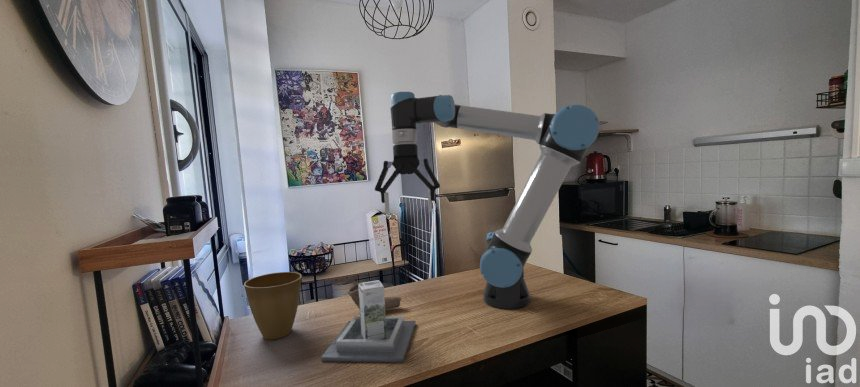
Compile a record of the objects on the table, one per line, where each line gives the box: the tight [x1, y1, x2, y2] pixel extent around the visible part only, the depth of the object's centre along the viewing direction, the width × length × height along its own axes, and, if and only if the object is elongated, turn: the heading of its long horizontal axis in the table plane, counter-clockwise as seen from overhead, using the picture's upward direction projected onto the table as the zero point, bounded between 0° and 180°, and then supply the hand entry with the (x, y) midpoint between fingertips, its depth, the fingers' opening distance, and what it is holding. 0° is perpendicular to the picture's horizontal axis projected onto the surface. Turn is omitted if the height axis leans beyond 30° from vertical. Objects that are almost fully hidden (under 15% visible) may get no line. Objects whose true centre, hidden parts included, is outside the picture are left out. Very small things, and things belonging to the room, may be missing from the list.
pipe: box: [347, 281, 402, 311], centre depth 112 cm, size 6×17×10 cm, turn 102°
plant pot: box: [243, 271, 302, 340], centre depth 100 cm, size 15×15×16 cm
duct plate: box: [320, 316, 416, 363], centre depth 93 cm, size 20×20×4 cm
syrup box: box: [358, 279, 387, 339], centre depth 93 cm, size 6×6×14 cm
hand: (408, 212), depth 109 cm, fingers open, 13 cm apart
